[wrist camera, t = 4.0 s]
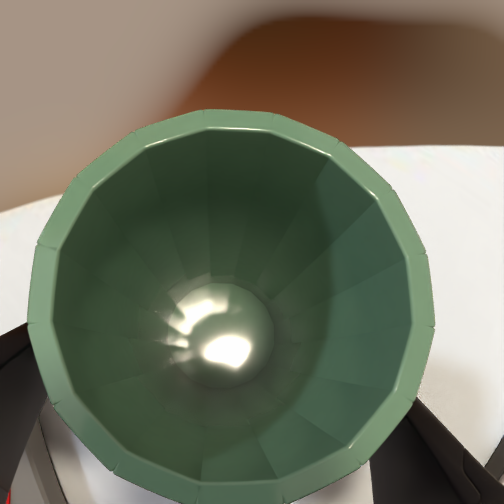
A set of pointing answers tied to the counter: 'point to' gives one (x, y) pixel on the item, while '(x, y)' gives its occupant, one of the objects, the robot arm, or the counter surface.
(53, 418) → the counter surface
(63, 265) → the tumbler
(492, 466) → the grey square block
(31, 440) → the electronic device
